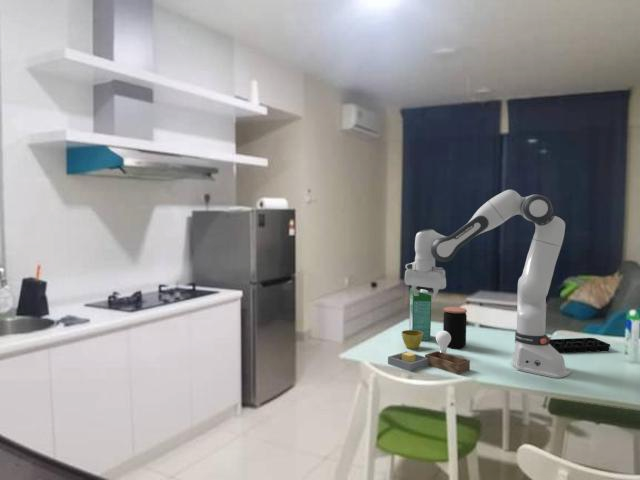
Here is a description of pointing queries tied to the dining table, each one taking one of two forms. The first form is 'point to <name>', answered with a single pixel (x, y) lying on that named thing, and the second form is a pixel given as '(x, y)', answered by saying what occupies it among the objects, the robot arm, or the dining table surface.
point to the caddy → (448, 362)
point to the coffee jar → (455, 326)
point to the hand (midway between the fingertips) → (424, 296)
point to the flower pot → (412, 338)
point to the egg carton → (578, 345)
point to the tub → (397, 361)
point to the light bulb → (443, 340)
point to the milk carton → (420, 312)
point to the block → (408, 357)
